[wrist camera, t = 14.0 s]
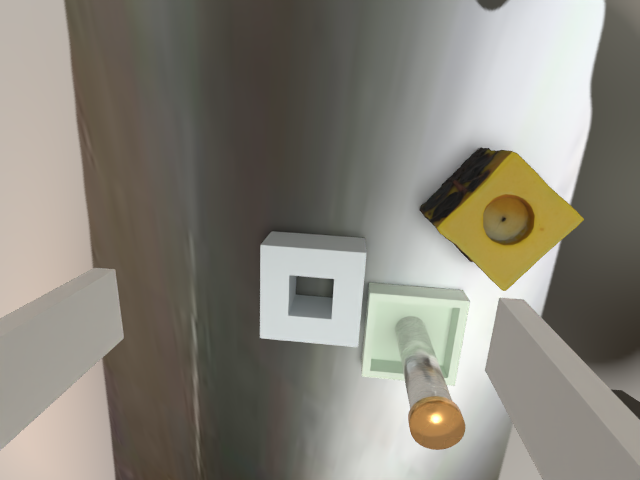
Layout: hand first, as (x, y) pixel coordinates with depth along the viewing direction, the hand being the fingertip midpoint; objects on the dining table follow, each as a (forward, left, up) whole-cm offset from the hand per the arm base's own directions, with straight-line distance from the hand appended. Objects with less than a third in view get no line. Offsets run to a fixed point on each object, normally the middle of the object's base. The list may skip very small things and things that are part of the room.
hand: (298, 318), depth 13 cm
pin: (+19, +11, -34) cm, 40 cm away
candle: (+2, +17, -35) cm, 39 cm away
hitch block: (+13, -2, -35) cm, 37 cm away
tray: (+19, +11, -35) cm, 41 cm away
